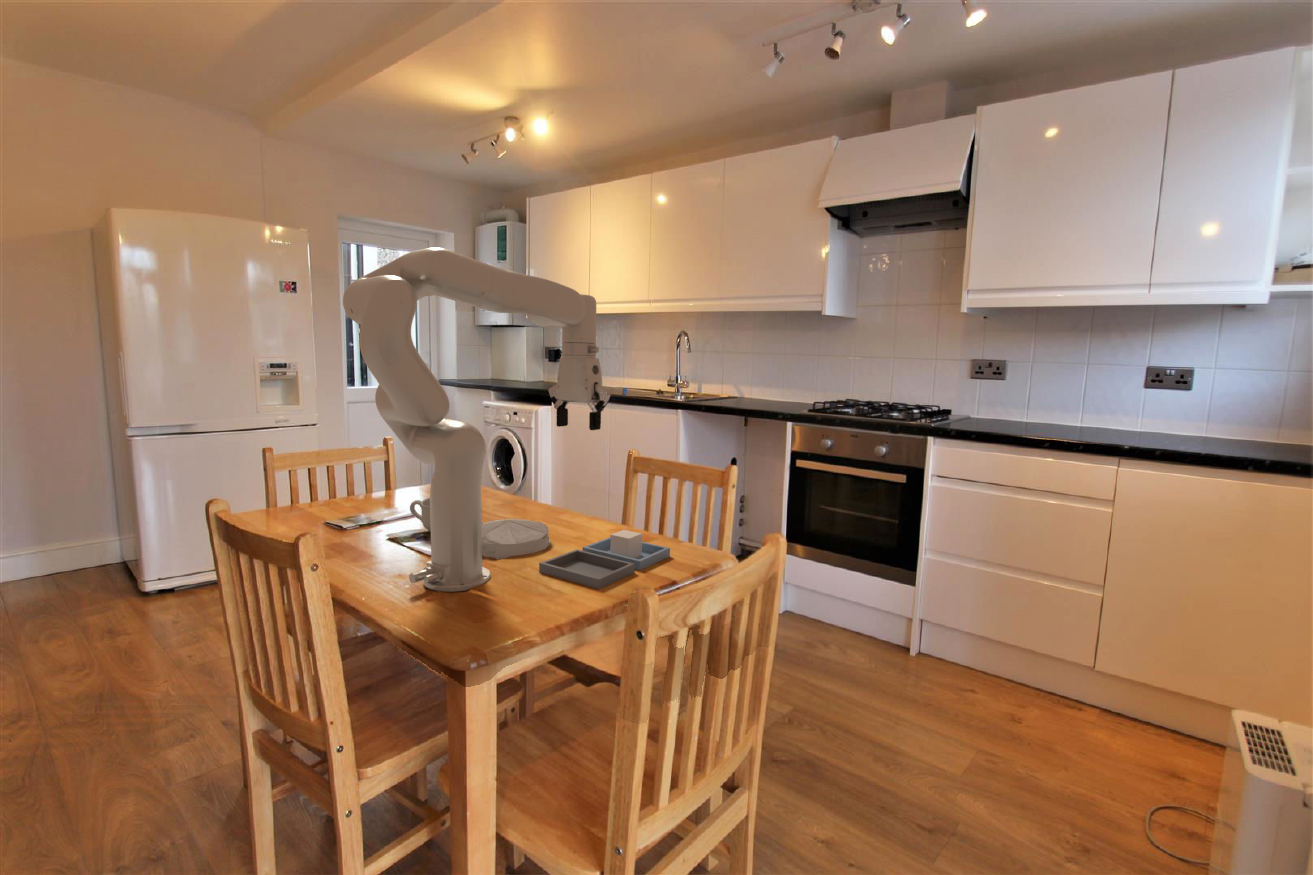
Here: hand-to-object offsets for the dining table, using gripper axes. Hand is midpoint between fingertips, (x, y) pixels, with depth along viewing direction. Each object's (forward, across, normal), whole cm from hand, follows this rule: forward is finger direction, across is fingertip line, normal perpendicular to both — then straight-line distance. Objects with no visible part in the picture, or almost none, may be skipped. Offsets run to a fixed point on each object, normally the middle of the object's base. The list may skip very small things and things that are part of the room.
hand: (578, 427), depth 143 cm
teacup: (+29, +37, +10) cm, 48 cm away
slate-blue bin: (+28, -13, -2) cm, 31 cm away
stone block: (+28, -13, -1) cm, 31 cm away
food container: (+29, +14, +8) cm, 33 cm away
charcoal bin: (+28, -13, +12) cm, 33 cm away
